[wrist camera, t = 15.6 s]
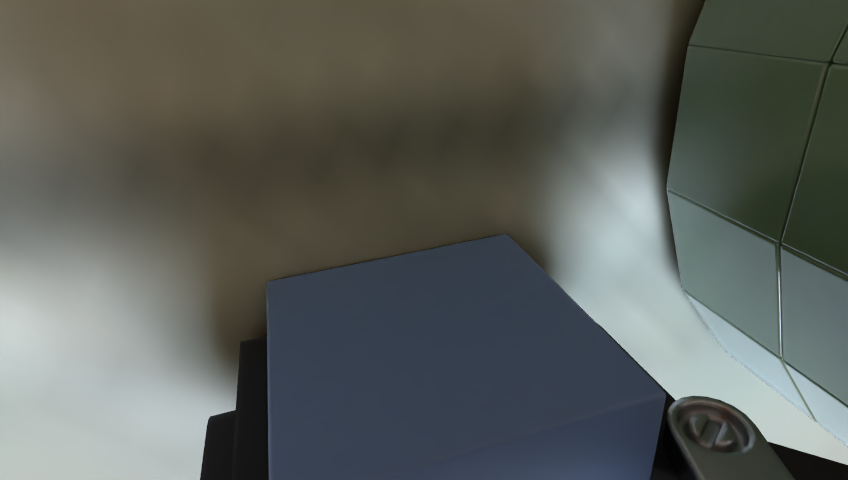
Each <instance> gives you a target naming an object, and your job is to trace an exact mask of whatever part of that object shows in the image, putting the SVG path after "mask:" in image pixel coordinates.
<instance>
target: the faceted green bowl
mask: <svg viewBox="0 0 848 480" xmlns="http://www.w3.org/2000/svg"><path fill="white" fill-rule="evenodd" d="M689 45H690V46H688V48H687V54H686V61H685V67H684V74H683V81H682V87H681V94H680V100H679V107H678V113H677V120H676V126H675V133H674V139H673V146H672V153H671V159H670V166H669V172H668V179H667V185H666V187H667V196H668V203H669V209H670V216H671V222H672V229H673V235H674V242H675V248H676V254H677V261H678V267H679V274H680V280H681V286H682V288H683V291H684V293H685V294H686V296H687V297H688V299H689V300H690V302H691V303H692V305H693V306H694V308H695V309H696V311H697V312H698V314H699V315H700V317H701V318H702V320H703V321H704V323H705V324H706V325H707V327H708V328H709V330H710V331H711V333H712V334H713V336H714V337H715V339H716V340H717V342H718V343H719V345H720V346H721V348H722V349H723V350H724V351H725V352H726V353H728V354H729V355H730V356H732V357H733V358H734V359H735V360H737V361H738V362H739V363H741V364H742V365H743V366H744V367H746V368H747V369H748V370H750V371H751V372H752V373H753V374H755V375H756V376H757V377H758V378H760V379H761V380H762V381H764V382H765V383H766V384H767V385H769V386H770V387H771V388H773V389H774V390H775V391H776V392H778V393H779V394H780V395H782V396H783V397H784V398H785V399H787V400H788V401H789V402H791V403H792V404H793V405H794V406H796V407H797V408H798V409H800V410H801V411H802V412H803V413H805V414H806V415H807V416H809V417H810V418H811V419H812V420H814V421H815V422H817V423H818V424H819V425H820V426H821V427H823V428H824V429H825V430H826V431H828V432H829V433H830V434H832V435H833V436H834V437H835V438H837V439H838V440H839V441H841V442H842V443H843V444H844V445H846V446H847V447H848V0H705V3H704V5H703V8H702V10H701V13H700V15H699V18H698V20H697V23H696V25H695V28H694V30H693V33H692V35H691V38H690V40H689Z"/></svg>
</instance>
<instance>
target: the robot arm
mask: <svg viewBox="0 0 848 480" xmlns="http://www.w3.org/2000/svg"><path fill="white" fill-rule="evenodd" d="M599 326H600V325H599ZM600 327H601V326H600ZM601 328H602V327H601ZM602 329H603V328H602ZM603 330H604V329H603ZM604 331H605V330H604ZM605 332H606V331H605ZM606 333H607V332H606ZM607 334H608V333H607ZM608 335H609V334H608ZM609 336H610V335H609ZM610 337H611V336H610ZM611 338H612V337H611ZM612 339H613V338H612ZM613 340H614V339H613ZM614 341H615V340H614ZM615 342H616V341H615ZM616 343H617V342H616ZM617 344H618V343H617ZM618 345H619V344H618ZM619 346H620V345H619ZM620 347H621V346H620ZM621 348H622V347H621ZM622 349H623V348H622ZM623 350H624V349H623ZM624 351H625V350H624ZM625 352H626V351H625ZM626 353H627V352H626ZM627 354H628V353H627ZM628 355H629V354H628ZM629 356H630V355H629ZM630 357H631V356H630ZM631 358H632V357H631ZM632 359H633V358H632ZM633 360H634V359H633ZM634 361H635V360H634ZM635 362H636V361H635ZM636 363H637V362H636ZM637 364H638V363H637ZM638 365H639V364H638ZM639 366H640V365H639ZM640 367H641V366H640ZM641 368H642V367H641ZM642 369H643V368H642ZM643 370H644V369H643ZM644 371H645V370H644ZM645 372H646V371H645ZM646 373H647V372H646ZM647 374H648V373H647ZM648 375H649V374H648ZM649 376H650V375H649ZM650 377H651V376H650ZM651 378H652V377H651ZM652 379H653V378H652ZM653 380H654V381H655V382H656V383H657V384H658V385H659V386H660V387H661V388H662V389H663V390H664V392H665V394H666V399H665V404H664V410H663V415H662V420H661V425H660V431H659V436H658V441H657V446H656V452H655V457H654V462H653V467H652V473H651V478H650V480H848V465H845V464H842V463H838V462H835V461H832V460H828V459H825V458H821V457H818V456H815V455H811V454H808V453H804V452H801V451H798V450H794V449H791V448H787V447H784V446H781V445H777V444H774V443H770V442H767V440H766V439H765V438H764V436H763V435H762V434H761V432H760V431H759V429H758V428H757V427H756V425H755V424H754V423H753V422H752V421H751V420H750V419H749V418H748V417H747V416H746V414H744V413H743V412H741V411H740V410H738V409H737V408H735V407H734V406H732V405H730V404H727V403H725V402H723V401H721V400H717V399H713V398H709V397H703V396H690V397H684V398H681V399H679V400H677V401H676V400H675V399H674V398H673V397H672V396H671V395H670V394H669V393H668V392H667V391H666V390H665V389H664V388H663V387H662V386H661V385H660V384H659V383H658V382H657V381H656V380H655V379H653ZM200 480H269V457H268V371H267V336H264V337H260V338H255V339H251V340H246V341H242V342H241V343H240V354H239V370H238V385H237V401H236V410H235V411H231V412H227V413H223V414H219V415H215V416H211V417H210V418H209V420H208V424H207V431H206V438H205V446H204V454H203V462H202V470H201V478H200Z"/></svg>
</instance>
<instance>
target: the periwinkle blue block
mask: <svg viewBox="0 0 848 480" xmlns="http://www.w3.org/2000/svg"><path fill="white" fill-rule="evenodd" d="M267 371H268V457H269V480H650V478H651V473H652V467H653V462H654V457H655V452H656V446H657V441H658V436H659V431H660V425H661V420H662V415H663V410H664V404H665V399H666V394H665V392H664V390H663V389H662V388H661V387H660V386H659V385H658V384H657V383H656V382H655V381H654V380H653V379H652V378H651V377H650V376H649V375H648V374H647V373H646V372H645V371H644V370H643V369H642V368H641V367H640V366H639V365H638V364H637V363H636V362H635V361H634V360H633V359H632V358H631V357H630V356H629V355H628V354H627V353H626V352H625V351H624V350H623V349H622V348H621V347H620V346H619V345H618V344H617V343H616V342H615V341H614V340H613V339H612V338H611V337H610V336H609V335H608V334H607V333H606V332H605V331H604V330H603V329H602V328H601V327H600V326H599V325H598V324H597V323H596V322H595V321H594V320H593V319H592V318H591V317H590V316H589V315H588V314H587V313H586V312H585V311H584V310H583V309H582V308H581V307H580V306H579V305H578V304H577V303H576V302H575V301H574V300H573V299H572V298H571V297H570V296H569V295H568V294H567V293H566V292H565V291H564V290H563V289H562V288H561V287H560V286H559V285H558V284H557V283H556V282H555V281H554V280H553V279H552V278H551V277H550V276H549V275H548V274H547V273H546V272H545V271H544V270H543V269H542V268H541V267H540V266H539V265H538V264H537V263H535V262H534V261H533V260H532V259H531V258H530V257H529V256H528V255H527V254H526V253H525V252H524V251H523V250H522V249H521V248H520V247H519V246H518V245H517V244H516V243H515V242H514V241H513V240H512V239H511V238H510V237H509V236H508V235H507V234H503V235H498V236H493V237H488V238H483V239H478V240H473V241H468V242H463V243H458V244H453V245H448V246H443V247H438V248H433V249H428V250H423V251H418V252H413V253H408V254H403V255H398V256H393V257H388V258H383V259H378V260H373V261H368V262H363V263H358V264H353V265H348V266H343V267H339V268H334V269H329V270H324V271H319V272H314V273H309V274H304V275H299V276H294V277H289V278H284V279H279V280H274V281H269V282H268V283H267Z"/></svg>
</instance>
